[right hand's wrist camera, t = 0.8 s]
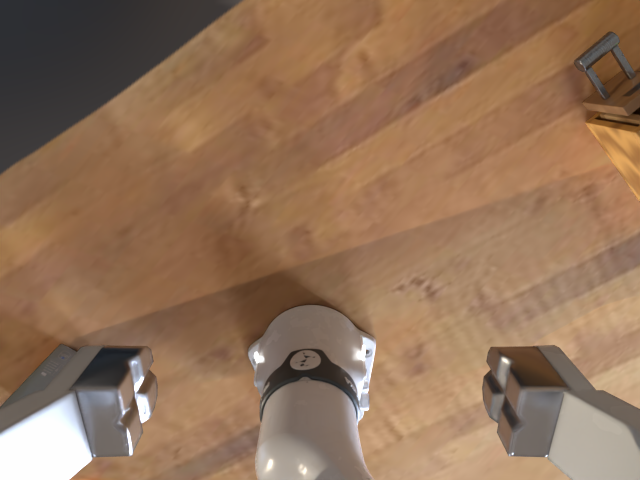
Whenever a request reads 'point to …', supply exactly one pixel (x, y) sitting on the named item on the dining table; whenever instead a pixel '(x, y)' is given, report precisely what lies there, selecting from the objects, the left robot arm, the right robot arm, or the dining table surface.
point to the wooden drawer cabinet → (620, 148)
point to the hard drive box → (43, 373)
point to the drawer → (612, 84)
